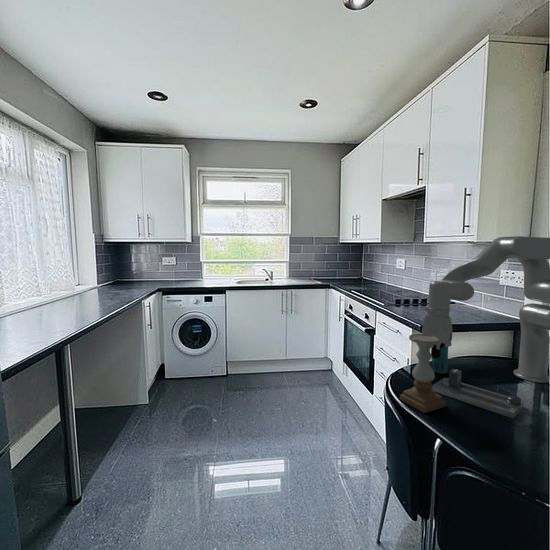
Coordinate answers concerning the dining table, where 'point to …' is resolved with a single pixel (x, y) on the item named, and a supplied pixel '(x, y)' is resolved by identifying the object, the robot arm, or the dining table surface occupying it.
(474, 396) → the console
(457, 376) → the fader tab
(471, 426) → the dining table surface
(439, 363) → the beverage bottle
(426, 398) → the candle holder
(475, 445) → the dining table surface
